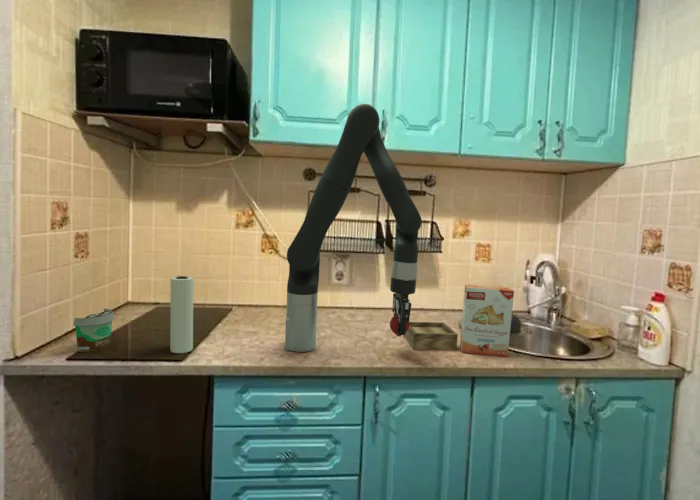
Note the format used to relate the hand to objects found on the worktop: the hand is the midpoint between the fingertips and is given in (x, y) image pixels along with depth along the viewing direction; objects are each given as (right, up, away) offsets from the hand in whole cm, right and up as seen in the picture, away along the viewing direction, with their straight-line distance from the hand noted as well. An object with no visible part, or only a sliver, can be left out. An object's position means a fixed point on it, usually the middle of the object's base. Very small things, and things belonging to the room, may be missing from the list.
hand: (399, 331), depth 130 cm
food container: (-86, -4, -7) cm, 87 cm away
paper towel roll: (-63, -5, -5) cm, 64 cm away
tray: (+11, -6, +12) cm, 17 cm away
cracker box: (+27, -8, +5) cm, 28 cm away
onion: (0, -2, 0) cm, 2 cm away
